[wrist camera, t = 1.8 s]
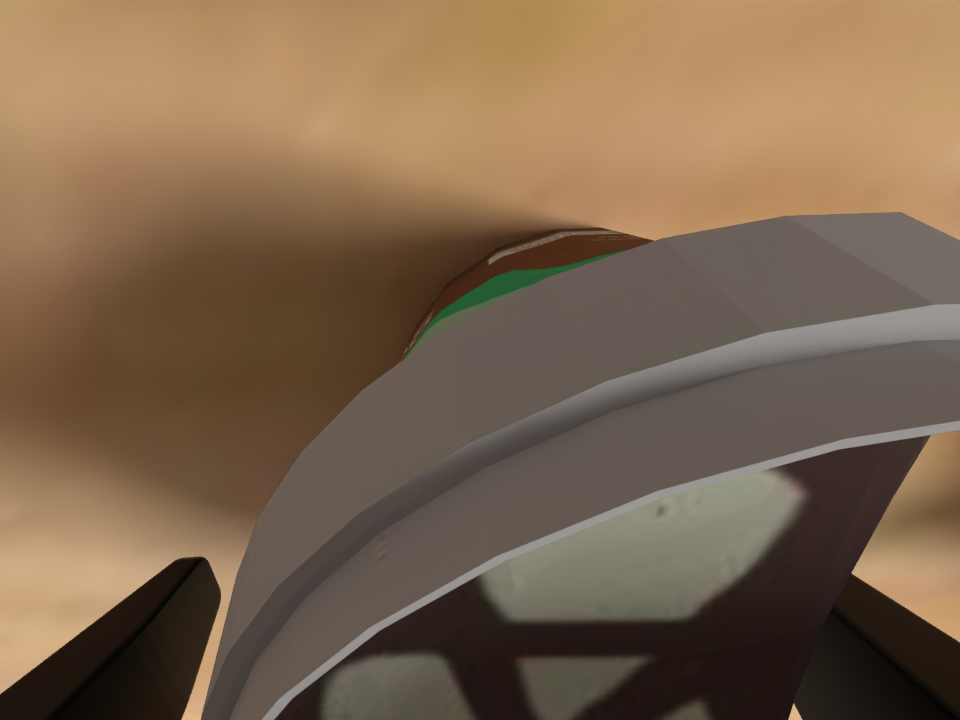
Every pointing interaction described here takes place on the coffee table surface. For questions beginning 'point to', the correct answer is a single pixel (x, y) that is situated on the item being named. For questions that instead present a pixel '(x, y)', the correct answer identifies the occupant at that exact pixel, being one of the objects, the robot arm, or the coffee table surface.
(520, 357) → the food container
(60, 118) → the coffee table surface
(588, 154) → the coffee table surface
